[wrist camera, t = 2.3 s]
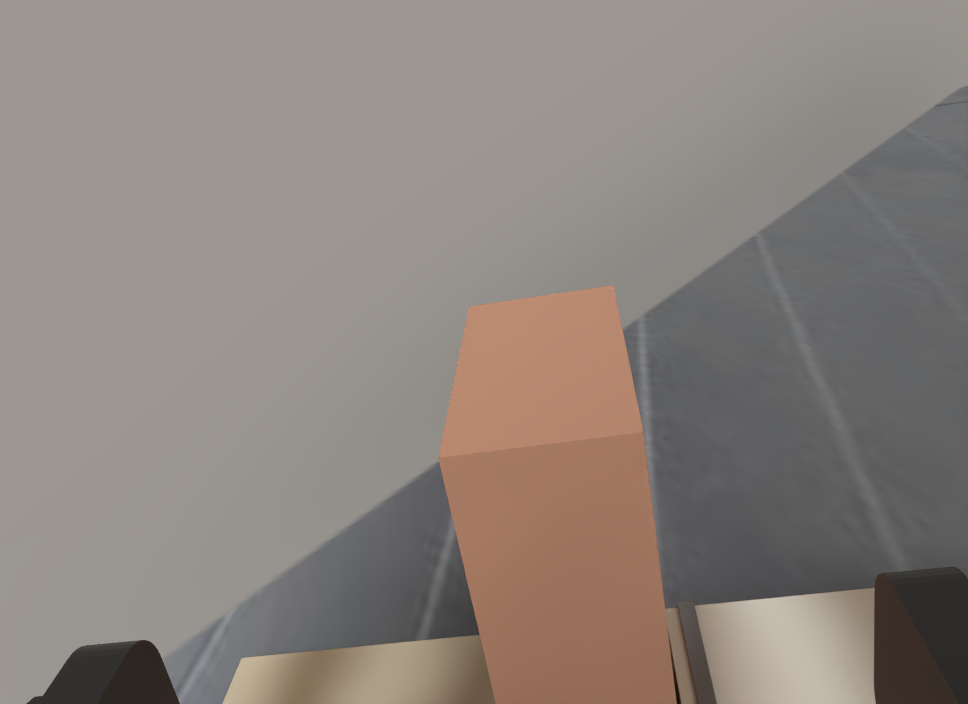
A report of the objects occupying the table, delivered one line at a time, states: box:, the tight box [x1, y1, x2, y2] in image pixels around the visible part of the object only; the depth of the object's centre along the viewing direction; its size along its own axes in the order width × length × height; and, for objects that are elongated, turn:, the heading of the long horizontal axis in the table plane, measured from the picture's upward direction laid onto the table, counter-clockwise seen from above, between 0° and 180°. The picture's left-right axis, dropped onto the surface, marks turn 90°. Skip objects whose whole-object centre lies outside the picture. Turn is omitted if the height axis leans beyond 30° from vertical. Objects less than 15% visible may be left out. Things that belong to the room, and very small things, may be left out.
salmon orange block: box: [438, 285, 677, 704], centre depth 24 cm, size 4×8×14 cm, turn 176°
